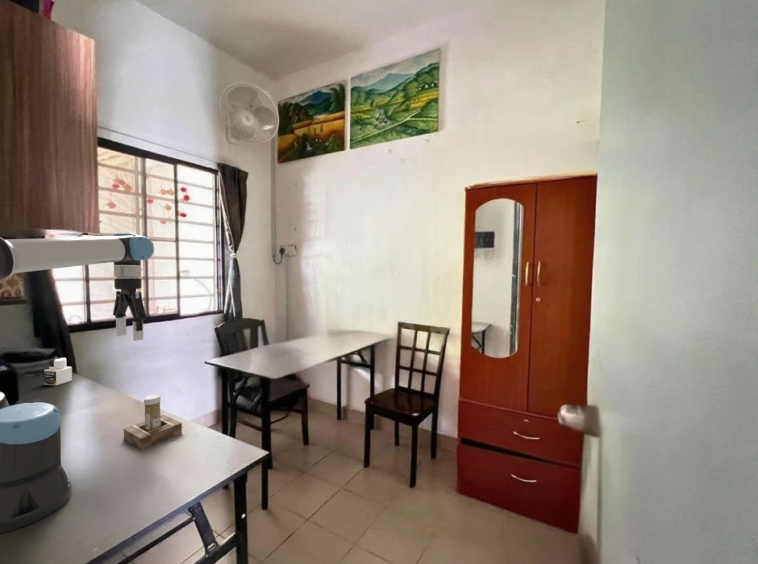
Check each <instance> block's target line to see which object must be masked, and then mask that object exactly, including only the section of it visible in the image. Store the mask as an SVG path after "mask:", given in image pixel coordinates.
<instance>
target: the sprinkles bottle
mask: <svg viewBox="0 0 758 564" xmlns="http://www.w3.org/2000/svg"><path fill="white" fill-rule="evenodd" d="M161 399H162V398H161V395H160V394H151V395H148V396H145V397H144V398H143V405H144V421H145V431H146V432H149V431H151V430H154V429H157V428H159V427H161V416H162V415H161Z"/></svg>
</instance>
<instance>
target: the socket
mask: <svg viewBox="0 0 758 564" xmlns="http://www.w3.org/2000/svg"><path fill="white" fill-rule="evenodd" d="M182 424H183V423H182V422H181V421H178V420H177V419H175V418H171V417H169V416H168V415H165V414H162V415H161V427H159V428H157V429H154V430H151V431H149V432H146V431H145V420H144V421H142V422H138V423H136V424H132V425H131V426H128V427H125V428H123V440H124V441H126V442H128V443H130V445H133V446H134V447H136V448H138V449H140V451H141V450H144V449H147V448H149V447H151V446H154V445H156V444H158V443H162V442H164V441H166V440H168V438H169V439H171V438H173V437H176V436H178V435H180V434H179V433H181V434H182V433H183V425H182ZM177 434H178V435H177ZM175 435H176V436H175Z"/></svg>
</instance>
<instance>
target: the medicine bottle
mask: <svg viewBox="0 0 758 564" xmlns="http://www.w3.org/2000/svg"><path fill="white" fill-rule="evenodd" d="M72 381H73V368H72V366H67V358H66V357H56V358H52V359H50V360H48V369H44V370H43V382H44V384H43V385H45V386H46V385H49V386H59V385H62V384H65V383H69V382H72Z"/></svg>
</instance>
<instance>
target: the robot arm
mask: <svg viewBox="0 0 758 564" xmlns="http://www.w3.org/2000/svg"><path fill="white" fill-rule="evenodd" d="M154 251H155V247H154V243H153V241H152V240H151V239H150V238H149V237H147V236H144V235H138V234H136V233H130V232H129V233H128V232H115V233H113V234H112V235H111V236H109V235H106V236H105V235H104V236H103V235H102V236H100V235H98V236H96V235H89V234H87V235H82V234H81V235H77V236H76V237H52V238H47V237H46V238H45V237H44V238H18V239H17V238H15V239H14V238H13V239H10V238H9V239H4V238H2V237H1V236H0V280H4V279H5V280H6V279H8V278H10V277H11V276H12V275H13V274H19V273H25V272H26V273H27V272H28V273H29V272H36V271H45V270H53V269H54V270H55V269H63V268H73V267H80V266H90V265H98V264H106V263H107V264H108V263H113V277H114V289H115V290H116V291H115V300H114V307H113V310H112V311H113V312H112V315H113V316H114V318H115V331H116V332H115V333H116V337H121V336H123V337H124V336H127V317H128V316H127V314H126V313H127V310H128V308H129V309H130V313H131V315H132V320H131V322H132V336H133V337H132V340H133V341H134V342H136V341H141V340H142V341H143V340H144V320H147V314H146V311H145V310H146V309H145V305H144V302H143V297H142V292H141V291H137V290H140V289H141V288H142V279H141V278H140V277H142V271H143V268H142V261H145V260H148V259H151V257H152V256H153V255H154ZM61 426H62V419H61V416H60V410H59V408H58V407H57V406H56V405H55V404H52V403H49V402H48V403H47V402H42V401H41V402H39V401H35V402H33V403H30V402H25V403H18V404H14V405H10V404H9V402H8V400H7V398H6V396H5V393H4V392H2V391H0V534H2V533H6V532H10V531H14V530H17V529H21V528H23V527H25V526H29V525H31V524H34V523H36V522H38V521H40V520H42V519H44V518H46V517H47V516H50V515H51V514H53V513H54V512H56V511H58V510H59V509H61V508H62V507H63V506H64V505H65V504H66V503H67V502H68V501H69V500H70V498H71V497H72V495H73V485H72V482H71V480H70V479H69V478H68V475H67V473H66V471H65V470H64V467H63V466H62V449H61V448H62V446H61V445H62V443H61V440H62V439H61Z"/></svg>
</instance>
